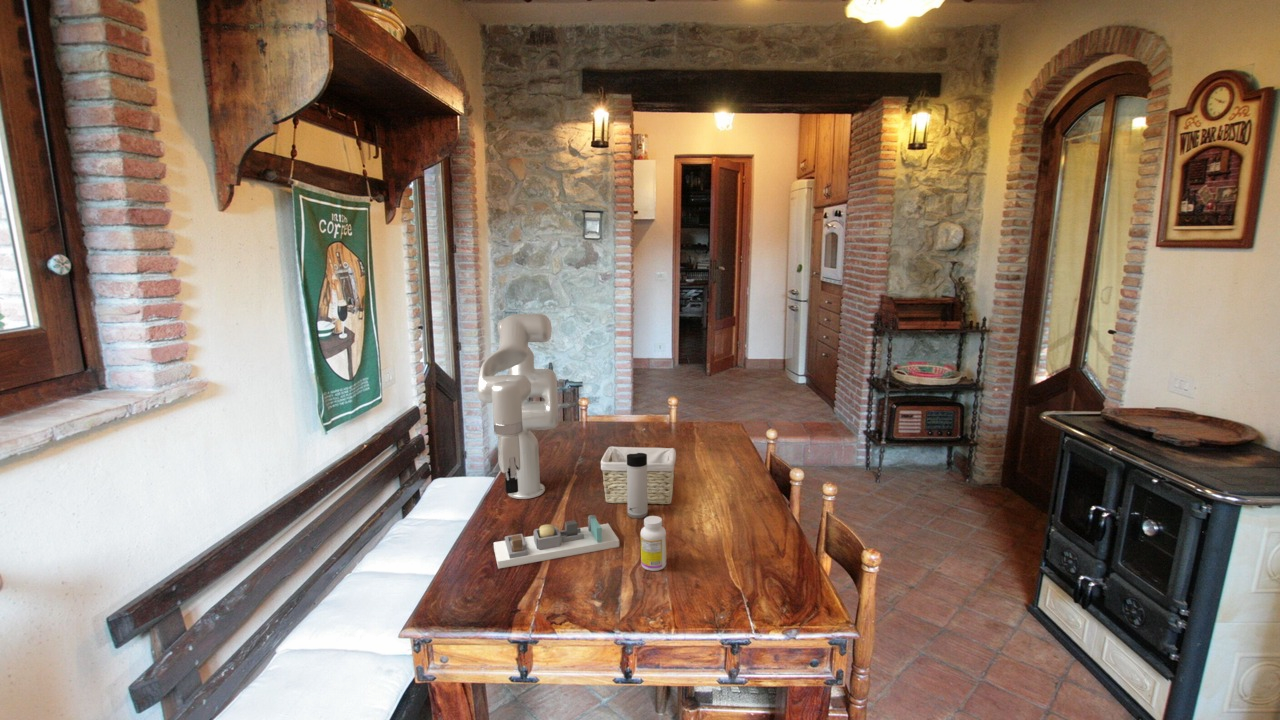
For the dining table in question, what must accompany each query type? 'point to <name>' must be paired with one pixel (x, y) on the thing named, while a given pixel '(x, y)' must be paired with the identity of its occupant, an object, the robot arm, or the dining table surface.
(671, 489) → the storage basket
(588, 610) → the dining table surface
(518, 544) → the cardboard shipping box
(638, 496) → the travel mug
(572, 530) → the grey rectangular block
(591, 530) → the teal lever handle
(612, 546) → the board
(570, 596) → the dining table surface
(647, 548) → the supplement bottle
